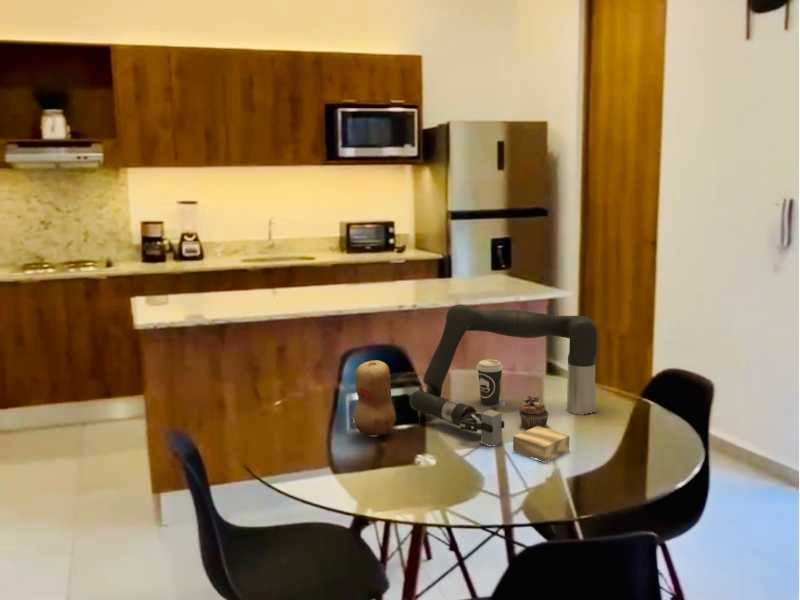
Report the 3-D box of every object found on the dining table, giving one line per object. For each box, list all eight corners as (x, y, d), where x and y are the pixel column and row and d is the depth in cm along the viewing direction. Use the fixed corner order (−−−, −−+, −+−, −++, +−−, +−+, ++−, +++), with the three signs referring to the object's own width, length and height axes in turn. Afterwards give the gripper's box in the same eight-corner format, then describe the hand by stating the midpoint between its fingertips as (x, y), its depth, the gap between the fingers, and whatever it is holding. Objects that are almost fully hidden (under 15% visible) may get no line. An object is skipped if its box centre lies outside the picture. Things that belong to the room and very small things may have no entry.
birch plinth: (537, 440, 244) (537, 425, 243) (569, 451, 235) (569, 435, 234) (513, 451, 236) (513, 436, 235) (544, 462, 227) (544, 446, 226)
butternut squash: (346, 439, 249) (343, 365, 244) (367, 425, 261) (364, 354, 256) (384, 446, 243) (381, 370, 238) (404, 431, 254) (401, 359, 249)
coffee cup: (504, 406, 275) (504, 366, 272) (477, 407, 276) (477, 366, 273) (501, 397, 285) (501, 358, 282) (475, 398, 285) (475, 359, 282)
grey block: (490, 439, 246) (490, 409, 244) (501, 443, 243) (501, 413, 241) (481, 443, 243) (481, 413, 241) (492, 447, 240) (492, 416, 238)
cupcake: (548, 432, 251) (548, 403, 248) (518, 430, 252) (518, 401, 250) (548, 421, 260) (549, 393, 258) (519, 420, 262) (519, 392, 260)
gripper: (442, 408, 247) (482, 421, 234) (473, 397, 256) (513, 410, 244) (443, 430, 248) (482, 445, 236) (473, 419, 258) (513, 432, 245)
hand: (497, 427), depth 240 cm, fingers open, 4 cm apart
